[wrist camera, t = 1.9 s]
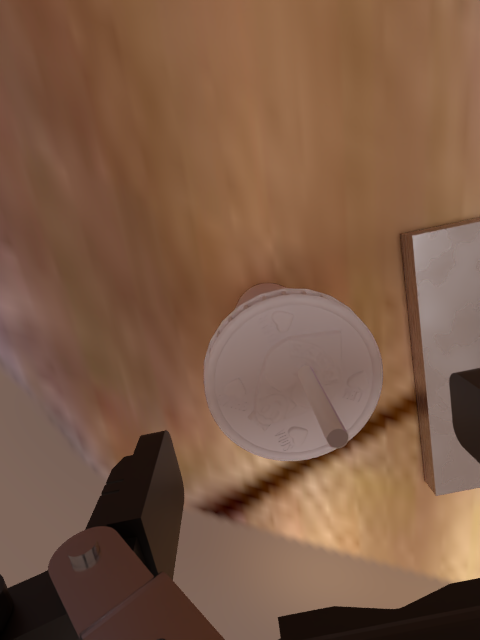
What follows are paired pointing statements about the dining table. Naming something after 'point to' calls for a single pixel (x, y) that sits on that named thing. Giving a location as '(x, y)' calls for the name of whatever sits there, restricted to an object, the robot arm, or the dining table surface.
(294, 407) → the smoothie
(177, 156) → the dining table surface
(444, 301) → the hub plate
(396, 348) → the dining table surface
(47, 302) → the dining table surface
